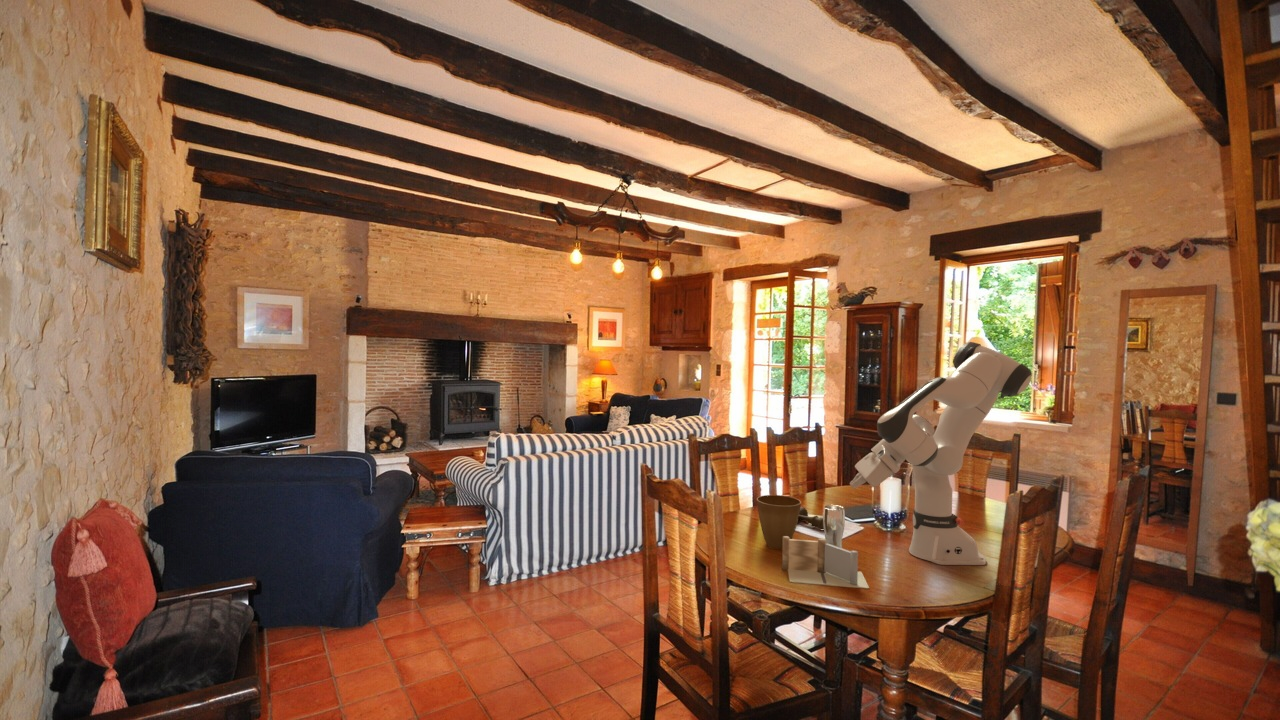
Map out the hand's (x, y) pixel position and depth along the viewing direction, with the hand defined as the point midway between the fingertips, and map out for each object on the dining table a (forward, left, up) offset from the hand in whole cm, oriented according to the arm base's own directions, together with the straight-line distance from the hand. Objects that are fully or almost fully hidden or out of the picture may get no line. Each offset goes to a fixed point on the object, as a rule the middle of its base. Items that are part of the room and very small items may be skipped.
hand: (851, 486), depth 183 cm
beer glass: (+4, -12, -25) cm, 28 cm away
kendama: (+11, -41, -26) cm, 50 cm away
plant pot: (+22, -14, -25) cm, 36 cm away
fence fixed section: (+15, +7, -25) cm, 30 cm away
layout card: (+9, +11, -25) cm, 29 cm away
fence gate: (+5, +12, -25) cm, 28 cm away
